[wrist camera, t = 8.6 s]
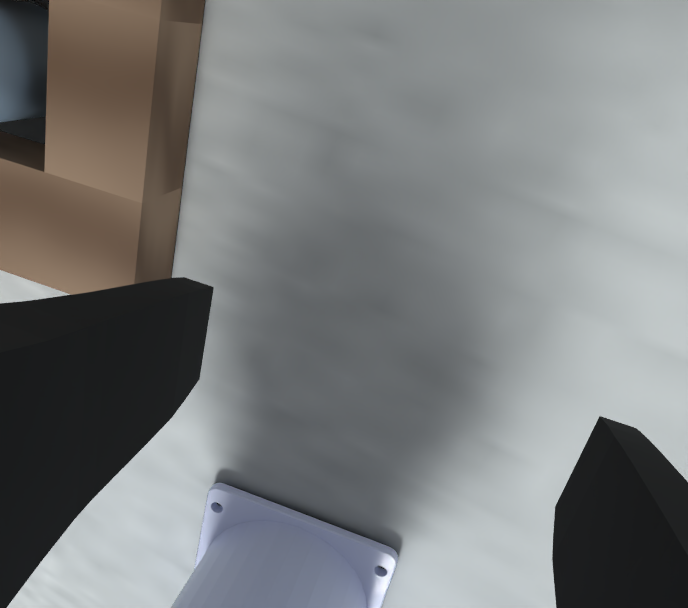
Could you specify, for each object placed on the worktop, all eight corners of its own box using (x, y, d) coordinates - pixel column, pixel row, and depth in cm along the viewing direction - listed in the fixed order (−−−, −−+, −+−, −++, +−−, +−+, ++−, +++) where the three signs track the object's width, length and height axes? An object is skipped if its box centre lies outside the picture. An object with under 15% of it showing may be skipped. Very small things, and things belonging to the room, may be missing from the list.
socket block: (169, 289, 23) (131, 315, 21) (-106, 196, 25) (-169, 211, 22) (220, -125, 17) (176, -152, 15) (-137, -208, 19) (-224, -242, 17)
